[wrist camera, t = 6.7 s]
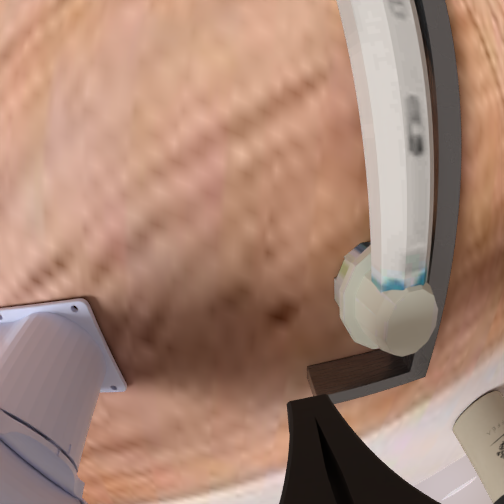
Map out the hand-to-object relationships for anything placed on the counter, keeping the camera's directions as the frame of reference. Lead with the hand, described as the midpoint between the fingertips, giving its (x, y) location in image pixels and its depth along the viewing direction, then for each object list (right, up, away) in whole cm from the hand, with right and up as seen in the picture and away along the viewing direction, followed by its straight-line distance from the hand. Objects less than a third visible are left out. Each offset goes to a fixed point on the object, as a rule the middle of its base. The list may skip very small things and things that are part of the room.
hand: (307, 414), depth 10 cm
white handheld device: (+4, +13, +6) cm, 15 cm away
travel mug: (+27, -15, +20) cm, 37 cm away
